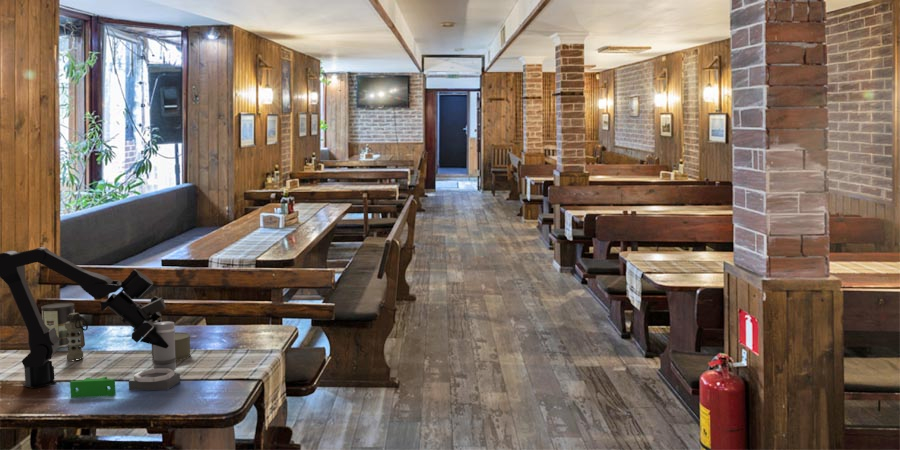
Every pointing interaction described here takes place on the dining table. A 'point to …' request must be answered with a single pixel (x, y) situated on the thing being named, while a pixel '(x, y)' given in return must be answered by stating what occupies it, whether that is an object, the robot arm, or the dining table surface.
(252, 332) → the dining table surface
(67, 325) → the grenade model
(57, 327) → the coffee can
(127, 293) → the robot arm
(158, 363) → the lens
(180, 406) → the dining table surface
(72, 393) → the pipe clamp
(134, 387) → the octagonal tray on plate
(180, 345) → the can
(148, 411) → the dining table surface
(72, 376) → the dining table surface
